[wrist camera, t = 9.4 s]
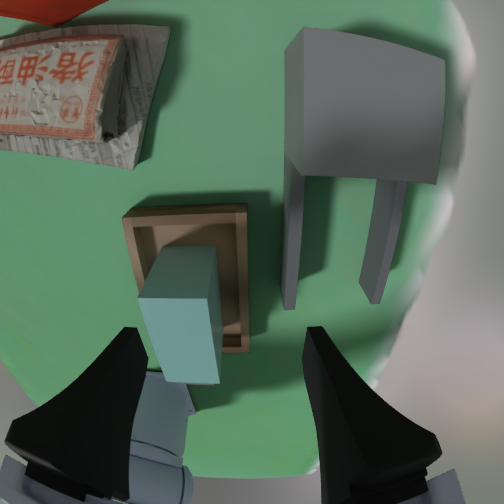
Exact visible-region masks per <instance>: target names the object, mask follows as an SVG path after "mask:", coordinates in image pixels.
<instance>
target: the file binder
mask: <svg viewBox="0 0 504 504" xmlns="http://www.w3.org/2000/svg"><path fill="white" fill-rule="evenodd" d="M106 1H108V0H0V16H4V17H11V18H16V19H22V20H27V21H32V22H37V23H41V24H45V25H49V26H53V27H57V26H59V25H60V24H64V23H66V22H67V21H69V20H71V19H73V18H74V17H76V16H78V15H80V14H82V13H84V12H86V11H87V10H89V9H91V8H93V7H95V6H97V5H99V4H102V3H104V2H106Z"/></svg>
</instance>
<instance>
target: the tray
mask: <svg viewBox="0 0 504 504" xmlns="http://www.w3.org/2000/svg"><path fill="white" fill-rule="evenodd" d="M122 223H123V228H124V232H125V237H126V242H127V246H128V250H129V255H130V259H131V263H132V267H133V271H134V275H135V279H136V282H137V286H138V290H139V293H140V291H141V289H142V287H143V285H144V282H145V280H146V278H147V276H148V274H149V272H150V270H151V268H152V266H153V264H154V262H155V260H156V258H157V256H158V254H159V252H160V250H161V248H162V247H171V246H210V245H216V252H217V264H218V275H219V286H220V297H221V307H222V317H223V326H224V329H223V343H222V353H241V352H250V337H249V293H248V246H247V203H227V204H198V205H177V206H159V207H143V208H131V209H130V210H129V211H128V212H127V213H126V214H125V215H124V216H123V217H122Z"/></svg>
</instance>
